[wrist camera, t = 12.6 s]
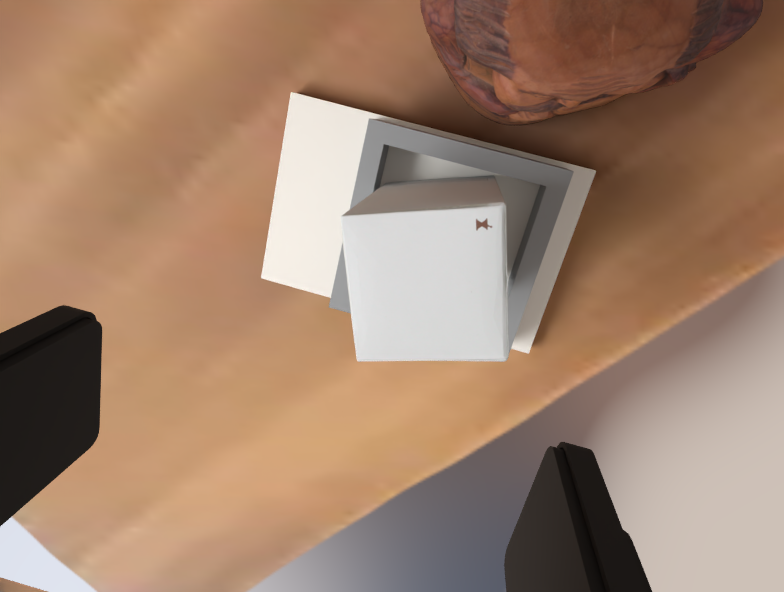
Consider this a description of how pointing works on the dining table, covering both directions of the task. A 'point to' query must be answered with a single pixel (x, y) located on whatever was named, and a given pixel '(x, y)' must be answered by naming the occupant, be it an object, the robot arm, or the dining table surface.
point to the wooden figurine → (574, 49)
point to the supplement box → (429, 271)
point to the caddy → (405, 163)
